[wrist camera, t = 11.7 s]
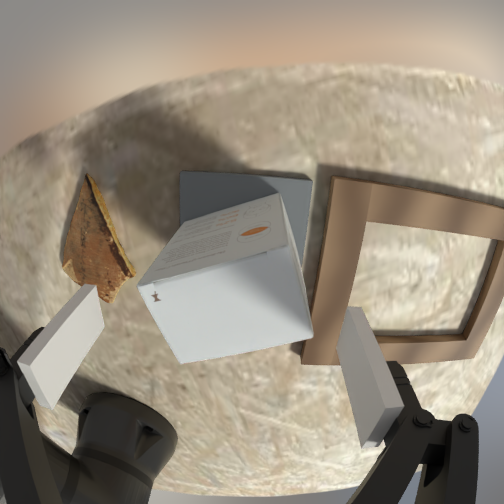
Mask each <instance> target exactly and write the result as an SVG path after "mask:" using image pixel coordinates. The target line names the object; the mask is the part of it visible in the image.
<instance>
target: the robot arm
mask: <svg viewBox="0 0 504 504" xmlns="http://www.w3.org/2000/svg"><path fill="white" fill-rule="evenodd" d="M104 327H105V326H104V321H103V317H102V312H101V307H100V303H99V298H98V292H97V287H96V285H90V284H84V285H83V286H82V287H81V288H80V289H79V290H78V291H77V292H76V293H75V295H74V296H73V297H72V298H71V299H70V300H69V301H68V302H67V303H66V304H65V305H64V307H63V308H62V309H61V310H60V311H59V312H58V313H57V314H56V315H55V317H54V318H53V319H52V320H51V321H50V322H49V323H48V325H47V326H46V327H41V328H39V329H37V330H36V331H34V332H33V333H32V334H31V336H30V337H29V338H28V340H26V341H25V342H24V345H22V346H21V347H20V348H19V350H18V351H17V352H16V353H15V354H14V356H13V357H12V358H11V359H9V357H8V355H7V353H6V351H5V349H3V348H1V347H0V504H148V501H149V497H150V494H151V489H152V486H153V482H154V480H155V478H156V477H157V475H158V474H159V473H160V472H161V470H162V469H163V468H164V466H165V465H166V464H167V462H168V461H169V460H170V458H171V457H172V455H173V454H174V452H175V448H176V444H177V440H178V437H177V433H176V431H175V429H174V428H173V427H172V425H171V424H170V423H169V422H168V421H167V420H166V419H165V418H163V417H162V416H161V415H159V414H158V413H157V412H155V411H153V410H152V409H150V408H148V407H147V406H145V405H143V404H141V403H139V402H136V401H134V400H131V399H129V398H126V397H123V396H119V395H115V394H110V393H94V394H91V395H89V396H88V397H87V398H86V399H85V401H84V403H83V405H82V407H81V409H80V412H79V419H78V429H77V441H76V446H75V449H74V451H73V453H72V455H71V454H69V453H68V452H67V451H65V450H64V449H63V448H61V447H60V446H59V445H57V444H56V443H55V442H53V441H52V440H51V439H49V438H48V437H47V436H46V435H44V434H43V433H42V432H41V431H40V430H39V426H38V421H37V417H36V412H35V407H34V405H33V403H32V401H33V399H34V398H36V399H37V401H38V403H39V405H40V406H43V407H45V408H48V409H51V410H53V408H54V407H55V405H56V403H57V402H58V400H59V398H60V396H61V395H62V393H63V391H64V390H65V388H66V386H67V385H68V383H69V381H70V380H71V378H72V377H73V375H74V373H75V372H76V370H77V369H78V367H79V365H80V364H81V362H82V361H83V359H84V358H85V356H86V354H87V353H88V351H89V350H90V348H91V347H92V345H93V344H94V342H95V341H96V339H97V338H98V336H99V335H100V333H101V332H102V330H103V329H104ZM336 350H337V354H338V357H339V361H340V364H341V368H342V372H343V376H344V379H345V383H346V387H347V391H348V395H349V399H350V403H351V407H352V411H353V415H354V419H355V423H356V427H357V431H358V436H359V440H360V444H361V449H362V448H371V447H378V446H379V445H380V444H381V442H382V441H383V439H384V442H385V446H386V447H385V448H384V450H383V451H382V452H381V454H380V455H379V456H378V458H377V461H376V462H375V464H374V465H373V467H372V468H371V470H370V471H369V473H368V474H367V476H366V477H365V479H364V480H363V482H362V483H361V484H360V486H359V487H358V489H357V490H356V492H355V493H354V494H353V495H352V497H351V498H350V499H349V501H348V502H347V503H346V504H398V502H399V500H400V499H401V497H402V495H403V494H404V492H405V490H406V488H407V486H408V484H409V482H410V481H411V479H412V477H413V475H414V473H415V471H416V469H417V467H418V465H419V464H423V467H422V472H421V478H420V482H419V487H418V491H417V496H416V500H415V504H475V501H476V490H477V478H478V454H479V434H478V433H479V431H478V424H477V422H476V420H475V419H474V418H473V417H472V416H470V415H467V414H459V415H456V417H455V418H454V419H453V420H452V421H445V420H437V419H435V417H434V416H433V415H432V414H431V413H430V412H429V411H427V410H424V409H422V408H421V406H420V403H419V401H418V399H417V397H416V394H415V392H414V390H413V388H412V385H410V381H409V379H408V378H407V375H406V372H405V370H404V368H403V367H402V366H401V365H400V364H399V363H398V362H397V361H385V358H384V356H383V354H382V351H381V349H380V347H379V345H378V342H377V340H376V338H375V336H374V333H373V331H372V329H371V327H370V325H369V323H368V320H367V318H366V316H365V314H364V312H363V310H362V308H361V307H348V306H347V309H346V313H345V317H344V321H343V325H342V328H341V332H340V336H339V339H338V343H337V346H336Z"/></svg>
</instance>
